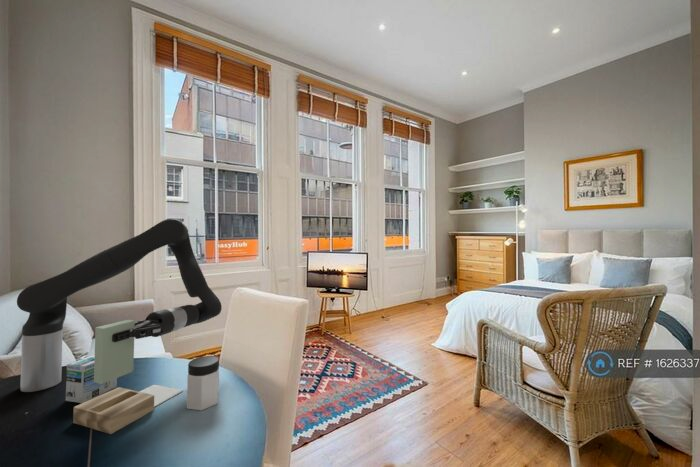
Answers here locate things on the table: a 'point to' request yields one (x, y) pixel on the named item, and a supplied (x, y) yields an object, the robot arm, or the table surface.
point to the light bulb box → (84, 381)
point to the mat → (161, 393)
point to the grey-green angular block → (113, 352)
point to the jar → (203, 382)
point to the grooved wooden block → (113, 410)
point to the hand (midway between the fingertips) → (108, 337)
